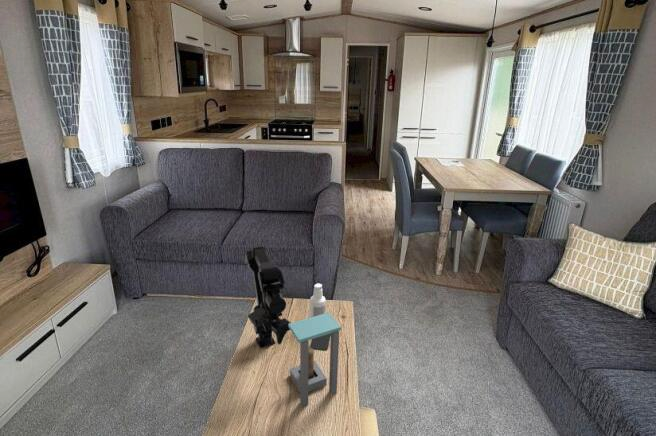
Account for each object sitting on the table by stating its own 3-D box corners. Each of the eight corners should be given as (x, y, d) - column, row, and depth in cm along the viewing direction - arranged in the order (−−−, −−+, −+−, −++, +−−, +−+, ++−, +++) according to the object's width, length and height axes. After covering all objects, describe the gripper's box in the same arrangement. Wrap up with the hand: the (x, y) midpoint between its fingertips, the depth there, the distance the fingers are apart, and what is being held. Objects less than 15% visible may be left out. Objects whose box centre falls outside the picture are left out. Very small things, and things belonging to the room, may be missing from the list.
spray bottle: (319, 326, 168) (320, 291, 161) (307, 321, 171) (307, 286, 165) (327, 318, 173) (328, 284, 167) (315, 313, 177) (315, 279, 170)
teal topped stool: (289, 387, 135) (288, 323, 125) (326, 374, 141) (328, 312, 132) (300, 407, 127) (299, 340, 117) (339, 392, 133) (342, 327, 124)
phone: (309, 347, 154) (315, 325, 168) (309, 349, 154) (315, 326, 168) (327, 350, 153) (332, 326, 167) (327, 351, 153) (332, 328, 167)
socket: (290, 375, 140) (289, 368, 139) (314, 366, 145) (314, 360, 144) (300, 394, 132) (300, 387, 131) (326, 384, 136) (326, 378, 135)
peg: (300, 381, 138) (300, 352, 133) (306, 374, 141) (306, 345, 136) (309, 385, 136) (310, 356, 131) (315, 378, 139) (315, 349, 134)
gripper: (239, 296, 139) (242, 334, 143) (262, 318, 124) (265, 359, 129) (266, 288, 145) (268, 324, 149) (292, 307, 131) (293, 347, 135)
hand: (273, 337), depth 140 cm, fingers open, 9 cm apart
